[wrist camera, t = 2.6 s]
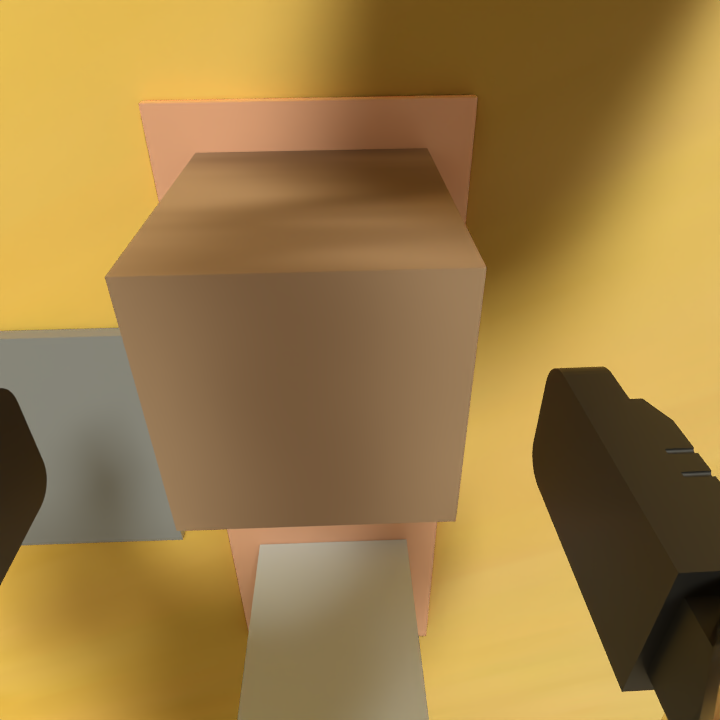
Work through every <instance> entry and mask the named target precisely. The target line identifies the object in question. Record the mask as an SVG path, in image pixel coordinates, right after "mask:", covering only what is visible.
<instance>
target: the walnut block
mask: <svg viewBox="0 0 720 720" xmlns="http://www.w3.org/2000/svg"><path fill="white" fill-rule="evenodd" d="M486 269H487V267H486V265H485V263H484V261H483V259H482V257H481V255H480V253H479V251H478V249H477V247H476V245H475V243H474V241H473V239H472V237H471V235H470V233H469V231H468V229H467V227H466V225H465V223H464V221H463V219H462V217H461V215H460V213H459V211H458V209H457V207H456V205H455V203H454V201H453V199H452V197H451V195H450V193H449V191H448V189H447V187H446V185H445V183H444V181H443V179H442V177H441V175H440V173H439V171H438V169H437V167H436V165H435V163H434V161H433V159H432V157H431V155H430V153H429V151H428V149H427V148H411V149H361V150H310V151H259V152H209V153H195V154H194V156H193V157H192V158H191V160H190V161H189V162H188V164H187V165H186V167H185V168H184V169H183V171H182V172H181V173H180V175H179V176H178V178H177V179H176V180H175V182H174V183H173V184H172V186H171V187H170V188H169V190H168V191H167V193H166V194H165V195H164V197H163V198H162V199H161V201H160V202H159V204H158V205H157V206H156V208H155V209H154V210H153V212H152V213H151V215H150V216H149V217H148V219H147V220H146V221H145V223H144V224H143V225H142V227H141V228H140V230H139V231H138V232H137V234H136V235H135V236H134V238H133V239H132V241H131V242H130V243H129V245H128V246H127V247H126V249H125V250H124V252H123V253H122V254H121V256H120V257H119V258H118V260H117V261H116V263H115V264H114V265H113V267H112V268H111V269H110V271H109V272H108V273H107V275H106V276H105V279H106V283H107V286H108V290H109V294H110V297H111V301H112V304H113V308H114V311H115V315H116V318H117V322H118V325H119V329H120V332H121V336H122V340H123V343H124V347H125V350H126V354H127V357H128V361H129V364H130V368H131V371H132V375H133V378H134V382H135V386H136V389H137V393H138V396H139V400H140V403H141V407H142V410H143V414H144V417H145V421H146V424H147V428H148V432H149V435H150V439H151V442H152V446H153V449H154V453H155V456H156V460H157V463H158V467H159V470H160V474H161V478H162V481H163V485H164V488H165V492H166V495H167V499H168V502H169V506H170V509H171V513H172V516H173V520H174V524H175V527H176V531H191V530H219V529H248V528H276V527H305V526H333V525H362V524H390V523H419V522H447V521H456V513H457V505H458V497H459V489H460V481H461V473H462V465H463V456H464V448H465V440H466V432H467V424H468V416H469V407H470V399H471V391H472V383H473V375H474V367H475V358H476V350H477V342H478V334H479V326H480V318H481V309H482V301H483V293H484V285H485V277H486Z"/></svg>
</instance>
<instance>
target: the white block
mask: <svg viewBox="0 0 720 720" xmlns="http://www.w3.org/2000/svg"><path fill="white" fill-rule="evenodd" d="M237 720H429V717H428V709H427V701H426V693H425V685H424V677H423V669H422V661H421V653H420V645H419V637H418V628H417V620H416V612H415V604H414V596H413V588H412V580H411V572H410V564H409V556H408V548H407V540H406V539H402V540H374V541H346V542H318V543H290V544H262V545H260V548H259V556H258V564H257V571H256V579H255V587H254V595H253V602H252V610H251V618H250V626H249V634H248V641H247V649H246V657H245V665H244V673H243V680H242V688H241V696H240V704H239V711H238V719H237Z"/></svg>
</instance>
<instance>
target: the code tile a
mask: <svg viewBox="0 0 720 720" xmlns="http://www.w3.org/2000/svg"><path fill="white" fill-rule="evenodd" d="M477 99H478V97H477V96H476V95H433V96H376V97H320V98H263V99H206V100H149V101H141V102H140V103H139V108H140V113H141V118H142V123H143V127H144V132H145V137H146V142H147V147H148V151H149V156H150V161H151V166H152V171H153V175H154V180H155V185H156V190H157V195H158V199H159V202H160V201H161V199H162V198H163V197H164V195H165V194H166V193H167V191H168V190H169V188H170V187H171V186H172V184H173V183H174V182H175V180H176V179H177V178H178V176H179V175H180V173H181V172H182V171H183V169H184V168H185V167H186V165H187V164H188V162H189V161H190V160H191V158H192V157H193V156H194V154H195V153H209V152H259V151H310V150H361V149H411V148H427V149H428V151H429V153H430V155H431V157H432V159H433V161H434V163H435V165H436V167H437V169H438V171H439V173H440V175H441V177H442V179H443V181H444V183H445V185H446V187H447V189H448V191H449V193H450V195H451V197H452V199H453V201H454V203H455V205H456V207H457V209H458V211H459V213H460V215H461V217H462V219H463V221H464V223H465V225H466V214H467V204H468V193H469V183H470V172H471V162H472V152H473V141H474V131H475V120H476V110H477Z"/></svg>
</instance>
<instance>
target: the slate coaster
mask: <svg viewBox="0 0 720 720" xmlns="http://www.w3.org/2000/svg"><path fill="white" fill-rule="evenodd" d="M0 388H5V389H7V390H9V391H10V392H12V393H13V395H14V396H15V397H16V399H17V401H18V404H19V406H20V408H21V410H22V413H23V415H24V417H25V420H26V422H27V424H28V427H29V429H30V431H31V434H32V436H33V438H34V441H35V443H36V445H37V447H38V450H39V452H40V454H41V457H42V459H43V461H44V464H45V468H46V474H47V487H46V493H45V498H44V501H43V503H42V506H41V508H40V510H39V512H38V514H37V515H36V517H35V519H34V521H33V523H32V525H31V527H30V529H29V531H28V533H27V535H26V537H25V539H24V540H23V542H22V544H21V545H42V544H71V543H99V542H127V541H155V540H183V537H184V533H185V531H176V527H175V524H174V520H173V516H172V513H171V509H170V506H169V502H168V499H167V495H166V492H165V488H164V485H163V481H162V478H161V474H160V470H159V467H158V463H157V460H156V456H155V453H154V449H153V446H152V442H151V439H150V435H149V432H148V428H147V424H146V421H145V417H144V414H143V410H142V407H141V403H140V400H139V396H138V393H137V389H136V386H135V382H134V378H133V375H132V371H131V368H130V364H129V361H128V357H127V354H126V350H125V347H124V343H123V340H122V336H121V332H120V329H119V328H98V329H61V330H24V331H0Z"/></svg>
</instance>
